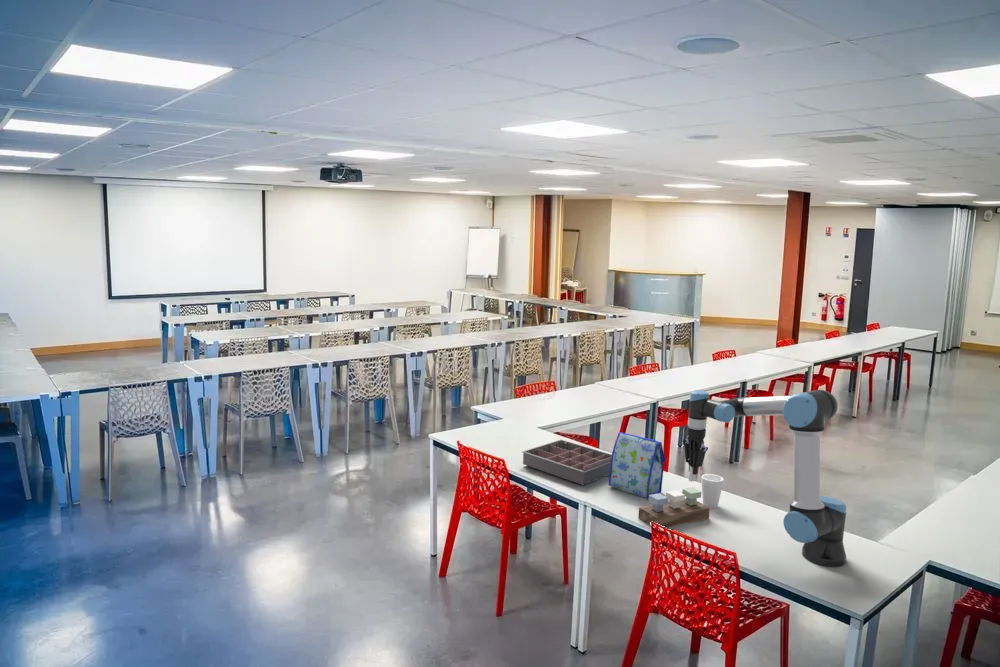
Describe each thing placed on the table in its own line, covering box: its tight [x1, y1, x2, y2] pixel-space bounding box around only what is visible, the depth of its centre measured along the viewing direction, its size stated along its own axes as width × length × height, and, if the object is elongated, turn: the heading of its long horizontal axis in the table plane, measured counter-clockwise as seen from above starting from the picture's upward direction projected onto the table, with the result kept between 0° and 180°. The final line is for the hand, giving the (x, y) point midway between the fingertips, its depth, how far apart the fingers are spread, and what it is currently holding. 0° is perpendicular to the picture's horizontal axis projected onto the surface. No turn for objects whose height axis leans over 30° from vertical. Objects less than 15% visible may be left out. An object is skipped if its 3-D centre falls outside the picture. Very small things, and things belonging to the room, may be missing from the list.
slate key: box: [648, 493, 669, 512], centre depth 284 cm, size 6×6×6 cm
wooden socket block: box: [637, 497, 711, 528], centre depth 289 cm, size 12×28×5 cm, turn 116°
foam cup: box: [700, 473, 725, 509], centre depth 303 cm, size 10×9×13 cm
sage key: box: [681, 487, 702, 505], centre depth 292 cm, size 6×6×6 cm
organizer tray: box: [521, 439, 612, 486], centre depth 345 cm, size 32×40×10 cm
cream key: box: [665, 489, 686, 509], centre depth 288 cm, size 6×6×6 cm
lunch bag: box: [608, 431, 667, 500], centre depth 319 cm, size 22×17×26 cm
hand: (692, 480), depth 291 cm, fingers closed
